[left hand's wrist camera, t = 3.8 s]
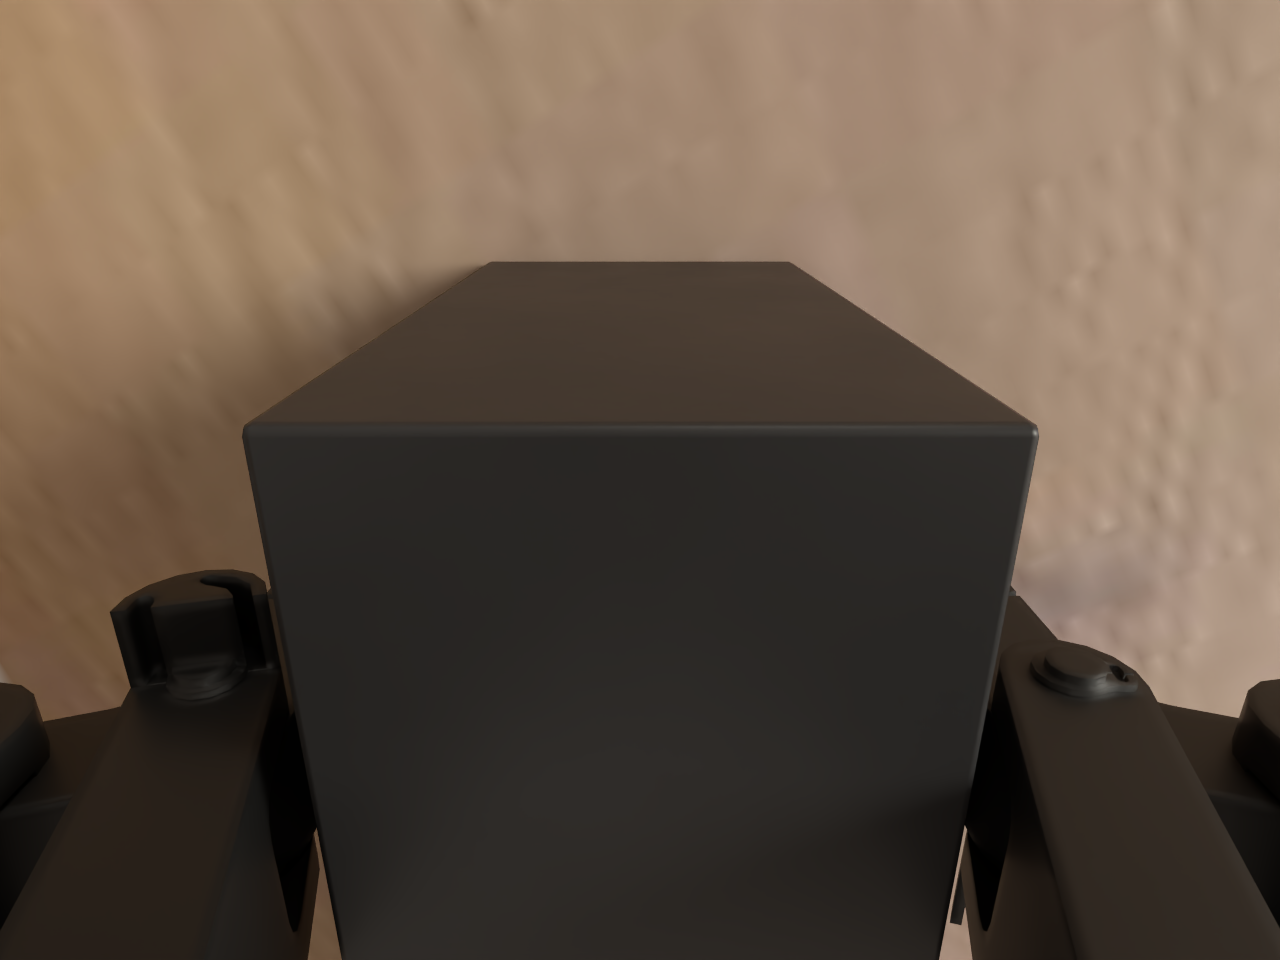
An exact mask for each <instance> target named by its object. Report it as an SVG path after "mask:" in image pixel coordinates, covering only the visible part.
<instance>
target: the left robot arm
mask: <svg viewBox="0 0 1280 960" xmlns="http://www.w3.org/2000/svg"><path fill="white" fill-rule="evenodd" d="M110 614H111V618H112V622H113V625H114V629H115V632H116V636H117V640H118V643H119V647H120V650H121V654H122V658H123V661H124V665H125V668H126V672H127V676H128V679H129V683H130V686H131V689H130V691H129V692H128V694H127V696H126V698H125V700H124V702H123V704H122V705H121V707H117V708H113V709H108V710H103V711H98V712H92V713H87V714H82V715H77V716H71V717H66V718H61V719H55V720H50V721H45V722H43V721H42V718H41V715H40V712H39V709H38V706H37V703H36V700H35V697H34V694H33V693H31V692H30V691H29V690H27V689H26V688H24V687H23V686H22V685H15V684H7V683H0V960H308V953H309V945H310V938H311V930H312V923H313V915H314V908H315V900H316V893H317V885H318V878H319V870H320V868H319V861H318V854H317V848H316V843H315V838H314V832H315V830H316V828H317V826H316V821H315V815H314V810H313V805H312V800H311V795H310V789H309V784H308V779H307V774H306V768H305V763H304V758H303V753H302V747H301V742H300V737H299V732H298V726H297V721H296V716H295V711H294V706H293V700H292V695H291V690H290V685H289V679H288V674H287V669H286V664H285V658H284V653H283V648H282V643H281V637H280V632H279V627H278V622H277V616H276V611H275V606H274V601H273V596H272V590H271V589H270V590H269V591H268V592H267V590H266V585H265V582H264V581H263V580H261V579H260V578H259V577H257V576H256V575H254V574H253V573H247V572H242V571H237V570H205V571H200V572H194V573H189V574H183V575H178V576H175V577H172V578H169V579H166V580H163V581H160V582H157V583H154V584H151V585H148V586H146V587H144V588H142V589H141V590H139V591H137V592H135V593H133V594H131V595H129V596H128V597H126V598H124V599H123V600H122V601H121V602H120V603H119V604H118V605H117V606H116V607H115V608H114V609H113V610H112V611H110ZM965 826H966V828H967V833H966V838H965V843H964V848H963V853H962V859H961V864H960V869H959V874H958V879H957V884H956V890H955V895H954V900H953V905H952V912H951V919H950V923H954V924H958V925H961V924H962V919H963V914H964V909H965V907H966V913H967V921H968V928H969V936H970V943H971V951H972V958H973V960H1280V679H1277V680H1269V681H1261V682H1259V683H1258V684H1257V685H1255V686H1254V687H1252V688H1251V689H1250V690H1248V693H1247V696H1246V699H1245V702H1244V705H1243V708H1242V711H1241V714H1240V717H1239V718H1235V717H1229V716H1224V715H1219V714H1213V713H1208V712H1203V711H1197V710H1192V709H1187V708H1181V707H1176V706H1171V705H1167V704H1163V703H1159V702H1157V700H1156V698H1155V696H1154V695H1153V693H1152V691H1151V689H1150V687H1149V686H1148V685H1147V684H1146V683H1145V681H1144V680H1143V679H1142V678H1141V677H1140V676H1139V675H1138V673H1137V672H1136V671H1135V670H1133V669H1132V668H1130V667H1128V666H1127V665H1125V664H1124V663H1122V662H1121V661H1119V660H1117V659H1116V658H1114V657H1113V656H1110V655H1108V654H1105V653H1103V652H1100V651H1097V650H1095V649H1092V648H1090V647H1087V646H1084V645H1079V644H1075V643H1070V642H1065V641H1061V640H1058V639H1057V638H1056V637H1055V636H1054V635H1053V634H1052V632H1051V631H1050V630H1049V629H1048V628H1047V627H1046V626H1045V624H1044V623H1043V622H1042V621H1041V620H1040V619H1039V618H1038V616H1037V615H1036V614H1035V613H1034V612H1033V611H1032V610H1031V608H1030V607H1029V606H1028V605H1027V604H1026V603H1025V602H1024V600H1023V599H1022V598H1021V597H1020V596H1016V591H1015V590H1014V589H1013V588H1012V587H1011V586H1010V591H1009V596H1008V601H1007V606H1006V611H1005V617H1004V622H1003V627H1002V632H1001V638H1000V643H999V648H998V653H997V658H996V664H995V669H994V674H993V679H992V685H991V690H990V695H989V700H988V705H987V711H986V716H985V721H984V726H983V732H982V737H981V742H980V747H979V752H978V758H977V763H976V768H975V773H974V779H973V784H972V789H971V794H970V799H969V805H968V810H967V815H966V820H965Z"/></svg>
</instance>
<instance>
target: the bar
mask: <svg viewBox="0 0 1280 960" xmlns="http://www.w3.org/2000/svg"><path fill="white" fill-rule="evenodd" d="M242 438H243V444H244V449H245V454H246V459H247V465H248V470H249V475H250V480H251V486H252V491H253V496H254V501H255V507H256V512H257V517H258V522H259V527H260V533H261V538H262V543H263V548H264V554H265V559H266V564H267V569H268V575H269V580H270V585H271V590H272V596H273V601H274V606H275V611H276V616H277V622H278V627H279V632H280V637H281V643H282V648H283V653H284V658H285V664H286V669H287V674H288V679H289V685H290V690H291V695H292V700H293V706H294V711H295V716H296V721H297V726H298V732H299V737H300V742H301V747H302V753H303V758H304V763H305V768H306V774H307V779H308V784H309V789H310V795H311V800H312V805H313V810H314V815H315V821H316V826H317V831H318V836H319V842H320V847H321V852H322V857H323V863H324V868H325V873H326V878H327V884H328V889H329V894H330V899H331V905H332V910H333V915H334V920H335V925H336V931H337V936H338V941H339V946H340V952H341V957H342V960H939V956H940V951H941V946H942V940H943V935H944V930H945V925H946V920H947V914H948V909H949V904H950V899H951V893H952V888H953V883H954V878H955V873H956V867H957V862H958V857H959V852H960V846H961V841H962V836H963V831H964V826H965V820H966V815H967V810H968V805H969V799H970V794H971V789H972V784H973V779H974V773H975V768H976V763H977V758H978V752H979V747H980V742H981V737H982V732H983V726H984V721H985V716H986V711H987V705H988V700H989V695H990V690H991V685H992V679H993V674H994V669H995V664H996V658H997V653H998V648H999V643H1000V638H1001V632H1002V627H1003V622H1004V617H1005V611H1006V606H1007V601H1008V596H1009V591H1010V585H1011V580H1012V575H1013V570H1014V564H1015V559H1016V554H1017V549H1018V544H1019V538H1020V533H1021V528H1022V523H1023V517H1024V512H1025V507H1026V502H1027V497H1028V491H1029V486H1030V481H1031V476H1032V470H1033V465H1034V460H1035V455H1036V450H1037V444H1038V439H1039V434H1038V428H1037V425H1035V424H1034V423H1032V422H1031V421H1029V420H1028V419H1026V418H1025V417H1023V416H1022V415H1020V414H1019V413H1017V412H1016V411H1014V410H1013V409H1011V408H1010V407H1008V406H1007V405H1005V404H1004V403H1002V402H1001V401H999V400H998V399H996V398H995V397H993V396H992V395H990V394H989V393H987V392H986V391H984V390H983V389H981V388H980V387H978V386H977V385H975V384H974V383H972V382H971V381H969V380H967V379H966V378H964V377H963V376H961V375H960V374H958V373H957V372H955V371H954V370H952V369H951V368H949V367H948V366H946V365H945V364H943V363H942V362H940V361H939V360H937V359H936V358H934V357H933V356H931V355H930V354H928V353H927V352H925V351H924V350H922V349H921V348H919V347H918V346H916V345H915V344H913V343H912V342H910V341H909V340H907V339H906V338H904V337H903V336H901V335H900V334H898V333H897V332H895V331H894V330H892V329H890V328H889V327H887V326H886V325H884V324H883V323H881V322H880V321H878V320H877V319H875V318H874V317H872V316H871V315H869V314H868V313H866V312H865V311H863V310H862V309H860V308H859V307H857V306H856V305H854V304H853V303H851V302H850V301H848V300H847V299H845V298H844V297H842V296H841V295H839V294H838V293H836V292H835V291H833V290H832V289H830V288H829V287H827V286H826V285H824V284H823V283H821V282H820V281H818V280H817V279H815V278H814V277H812V276H810V275H809V274H807V273H806V272H804V271H803V270H801V269H800V268H798V267H797V266H795V265H794V264H792V263H790V262H490V263H488V264H487V265H485V266H484V267H482V268H481V269H479V270H478V271H476V272H475V273H473V274H471V275H470V276H468V277H467V278H465V279H464V280H462V281H461V282H459V283H458V284H456V285H455V286H453V287H452V288H450V289H449V290H447V291H446V292H444V293H443V294H441V295H440V296H438V297H437V298H435V299H434V300H432V301H431V302H429V303H428V304H426V305H425V306H423V307H422V308H420V309H419V310H417V311H416V312H414V313H413V314H411V315H410V316H408V317H407V318H405V319H404V320H402V321H401V322H399V323H398V324H396V325H395V326H393V327H392V328H390V329H389V330H387V331H386V332H384V333H383V334H381V335H380V336H378V337H377V338H375V339H374V340H372V341H371V342H369V343H368V344H366V345H365V346H363V347H362V348H360V349H359V350H357V351H356V352H354V353H353V354H351V355H350V356H348V357H347V358H345V359H344V360H342V361H341V362H339V363H338V364H336V365H335V366H333V367H332V368H330V369H328V370H327V371H325V372H324V373H322V374H321V375H319V376H318V377H316V378H315V379H313V380H312V381H310V382H309V383H307V384H306V385H304V386H303V387H301V388H300V389H298V390H297V391H295V392H294V393H292V394H291V395H289V396H288V397H286V398H285V399H283V400H282V401H280V402H279V403H277V404H276V405H274V406H273V407H271V408H270V409H268V410H267V411H265V412H264V413H262V414H261V415H259V416H258V417H256V418H255V419H253V420H252V421H250V422H249V423H247V424H246V425H245V426H244V429H243V435H242Z"/></svg>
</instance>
